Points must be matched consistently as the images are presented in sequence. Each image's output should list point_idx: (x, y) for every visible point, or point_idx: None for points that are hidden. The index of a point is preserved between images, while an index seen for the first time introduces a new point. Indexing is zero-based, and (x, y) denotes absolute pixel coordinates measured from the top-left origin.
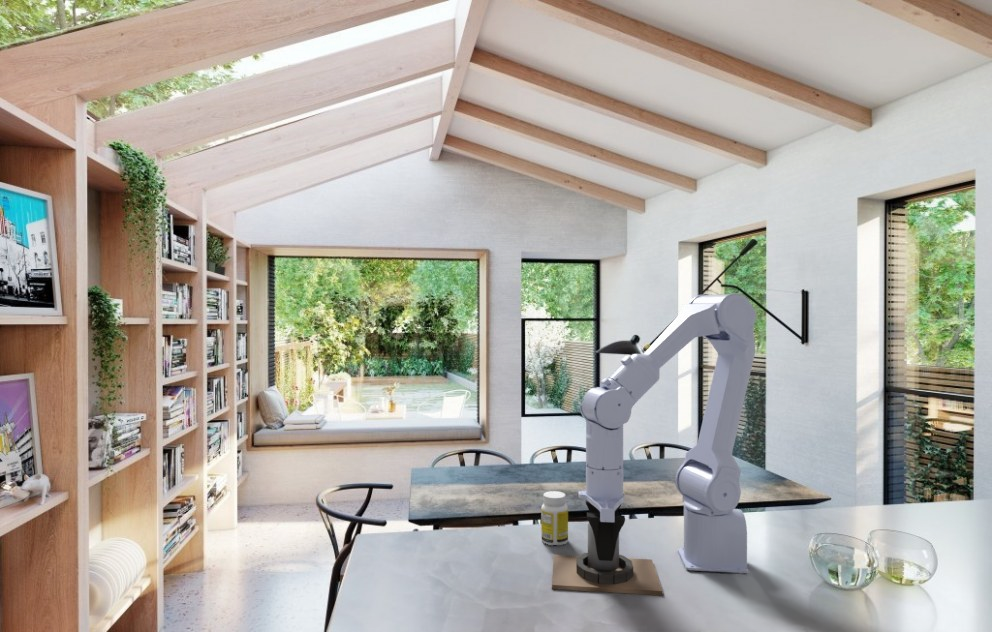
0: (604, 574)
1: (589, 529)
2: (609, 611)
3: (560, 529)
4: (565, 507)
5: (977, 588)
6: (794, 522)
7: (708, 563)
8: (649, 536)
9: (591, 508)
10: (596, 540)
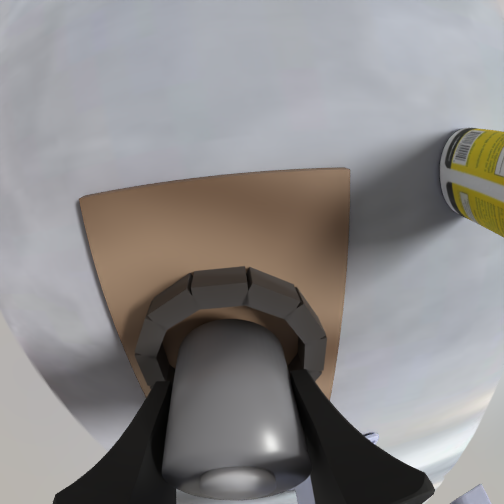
0: (140, 368)
1: (190, 446)
2: (50, 343)
3: (478, 205)
4: None
5: None
6: (430, 472)
7: None
8: (450, 382)
9: (337, 500)
10: (121, 439)
